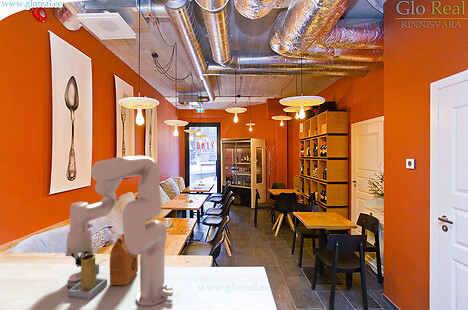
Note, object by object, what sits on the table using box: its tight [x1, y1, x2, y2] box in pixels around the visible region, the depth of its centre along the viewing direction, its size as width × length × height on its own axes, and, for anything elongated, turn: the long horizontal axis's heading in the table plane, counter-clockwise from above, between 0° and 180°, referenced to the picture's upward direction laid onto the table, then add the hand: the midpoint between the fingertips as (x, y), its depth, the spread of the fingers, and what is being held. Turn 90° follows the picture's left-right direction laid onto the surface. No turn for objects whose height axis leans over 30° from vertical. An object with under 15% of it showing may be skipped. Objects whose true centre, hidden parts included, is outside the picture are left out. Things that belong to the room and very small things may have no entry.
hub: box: [66, 279, 81, 290], centre depth 101 cm, size 7×7×2 cm
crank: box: [68, 251, 94, 283], centre depth 104 cm, size 12×6×8 cm, turn 173°
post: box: [95, 263, 100, 275], centre depth 110 cm, size 2×2×4 cm
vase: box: [80, 253, 97, 292], centre depth 96 cm, size 6×6×14 cm
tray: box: [67, 277, 108, 301], centre depth 96 cm, size 10×10×3 cm
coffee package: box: [109, 233, 139, 286], centre depth 105 cm, size 10×12×22 cm
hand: (79, 265), depth 108 cm, fingers closed
